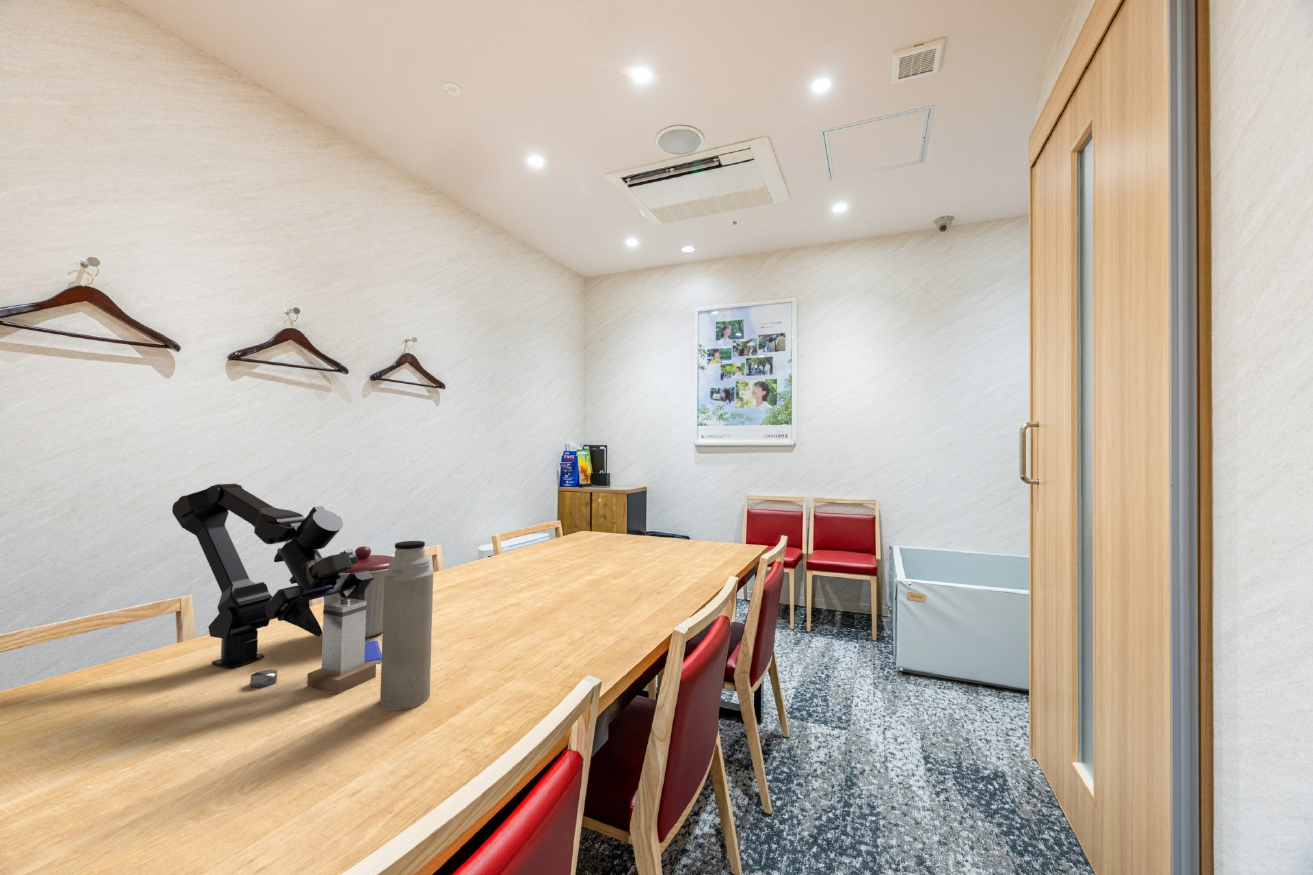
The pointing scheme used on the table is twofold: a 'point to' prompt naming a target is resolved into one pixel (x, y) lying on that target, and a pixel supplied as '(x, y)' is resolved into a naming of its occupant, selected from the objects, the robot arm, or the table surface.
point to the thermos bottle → (407, 628)
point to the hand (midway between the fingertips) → (343, 627)
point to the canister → (369, 587)
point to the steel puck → (263, 678)
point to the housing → (343, 636)
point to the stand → (340, 679)
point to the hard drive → (372, 652)
